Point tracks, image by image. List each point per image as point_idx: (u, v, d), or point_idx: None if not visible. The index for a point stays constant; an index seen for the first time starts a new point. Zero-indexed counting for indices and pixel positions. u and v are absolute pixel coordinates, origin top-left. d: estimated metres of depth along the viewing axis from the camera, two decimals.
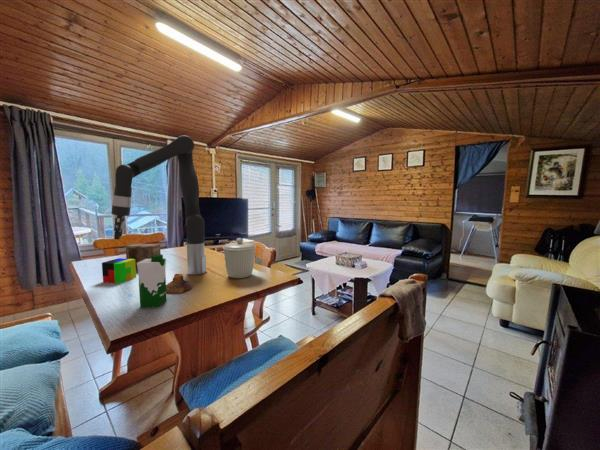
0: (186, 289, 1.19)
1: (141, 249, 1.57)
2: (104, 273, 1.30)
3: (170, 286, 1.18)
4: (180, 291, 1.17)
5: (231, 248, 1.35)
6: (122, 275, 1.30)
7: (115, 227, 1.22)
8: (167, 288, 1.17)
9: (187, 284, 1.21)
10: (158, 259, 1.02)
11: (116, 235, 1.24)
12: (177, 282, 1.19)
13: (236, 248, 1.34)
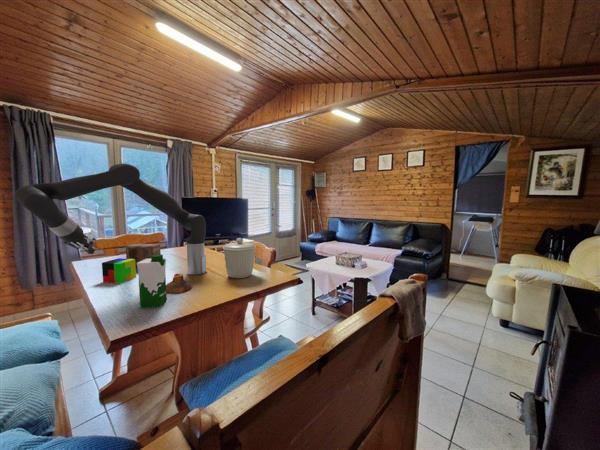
0: (186, 289, 1.19)
1: (141, 249, 1.57)
2: (104, 273, 1.30)
3: (170, 286, 1.18)
4: (180, 291, 1.17)
5: (231, 248, 1.35)
6: (122, 275, 1.30)
7: None
8: (167, 288, 1.17)
9: (187, 284, 1.21)
10: (158, 259, 1.02)
11: (92, 250, 1.15)
12: (178, 281, 1.19)
13: (236, 248, 1.34)
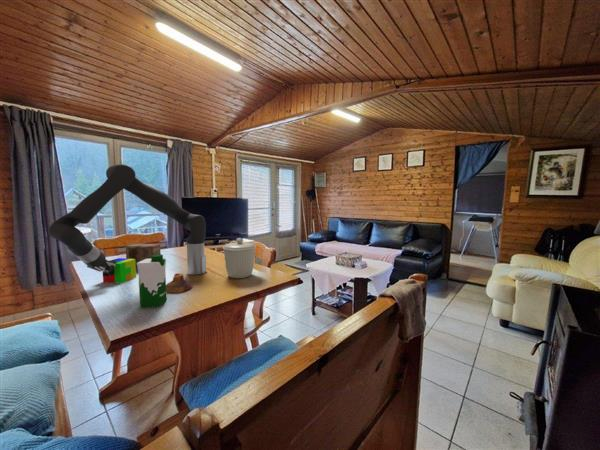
0: (186, 289, 1.20)
1: (141, 249, 1.57)
2: (104, 273, 1.30)
3: (170, 286, 1.18)
4: (180, 291, 1.18)
5: (231, 248, 1.35)
6: (122, 275, 1.30)
7: (112, 269, 1.24)
8: (167, 288, 1.18)
9: (187, 284, 1.22)
10: (158, 259, 1.02)
11: (112, 272, 1.27)
12: (178, 281, 1.20)
13: (236, 248, 1.34)
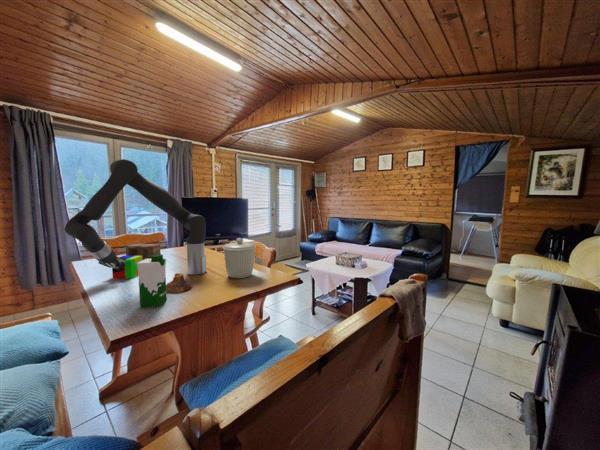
0: (186, 289, 1.20)
1: (141, 249, 1.57)
2: (114, 269, 1.36)
3: (170, 286, 1.18)
4: (180, 291, 1.18)
5: (231, 248, 1.35)
6: (133, 271, 1.38)
7: None
8: (167, 288, 1.18)
9: (187, 284, 1.22)
10: (158, 259, 1.02)
11: (122, 268, 1.34)
12: (178, 281, 1.20)
13: (236, 248, 1.34)
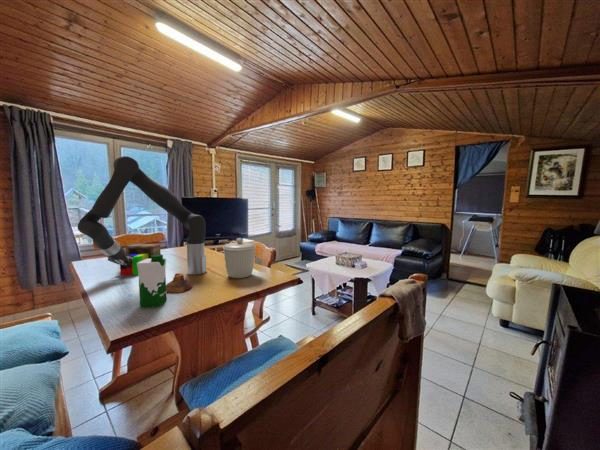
0: (186, 288, 1.20)
1: (141, 249, 1.57)
2: (122, 266, 1.42)
3: (171, 285, 1.18)
4: (181, 290, 1.18)
5: (231, 248, 1.35)
6: None
7: None
8: (168, 287, 1.18)
9: (187, 283, 1.22)
10: (158, 259, 1.02)
11: (129, 265, 1.40)
12: (178, 281, 1.20)
13: (236, 248, 1.34)
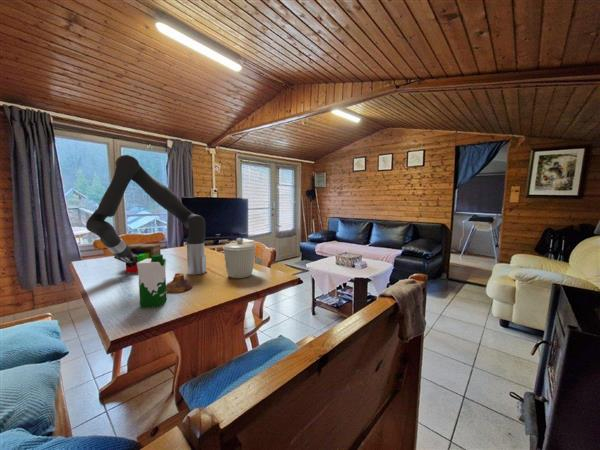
0: (187, 288, 1.20)
1: (141, 249, 1.57)
2: (127, 264, 1.47)
3: (171, 285, 1.18)
4: (181, 290, 1.18)
5: (231, 248, 1.35)
6: None
7: (135, 260, 1.42)
8: (168, 287, 1.18)
9: (188, 283, 1.22)
10: (158, 259, 1.02)
11: (135, 263, 1.45)
12: (178, 281, 1.20)
13: (236, 248, 1.34)
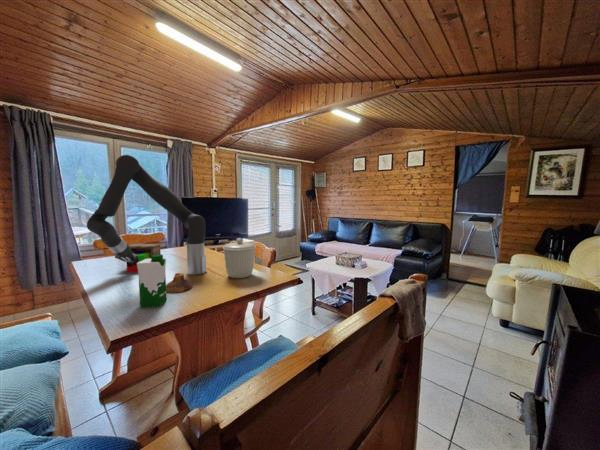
0: (187, 288, 1.20)
1: (141, 249, 1.57)
2: (128, 264, 1.48)
3: (171, 285, 1.19)
4: (181, 290, 1.18)
5: (231, 248, 1.35)
6: None
7: None
8: (168, 287, 1.18)
9: (188, 283, 1.22)
10: (158, 259, 1.02)
11: (135, 262, 1.45)
12: (178, 281, 1.20)
13: (236, 248, 1.34)
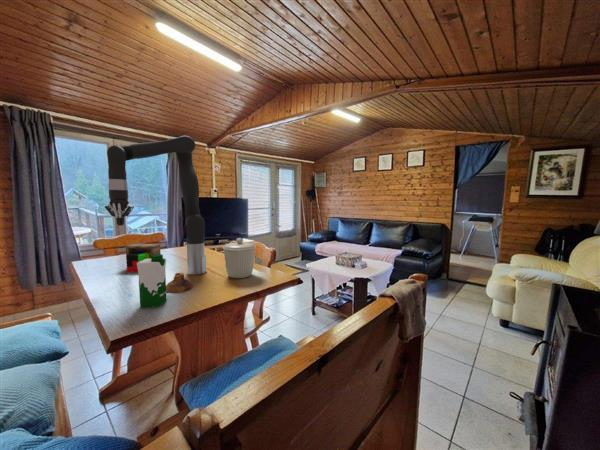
0: (187, 288, 1.21)
1: (141, 249, 1.57)
2: (128, 264, 1.48)
3: (171, 285, 1.19)
4: (181, 290, 1.19)
5: (231, 248, 1.35)
6: None
7: (126, 214, 1.24)
8: (168, 287, 1.19)
9: (188, 283, 1.23)
10: (158, 259, 1.02)
11: (122, 221, 1.25)
12: (178, 281, 1.20)
13: (236, 248, 1.34)
